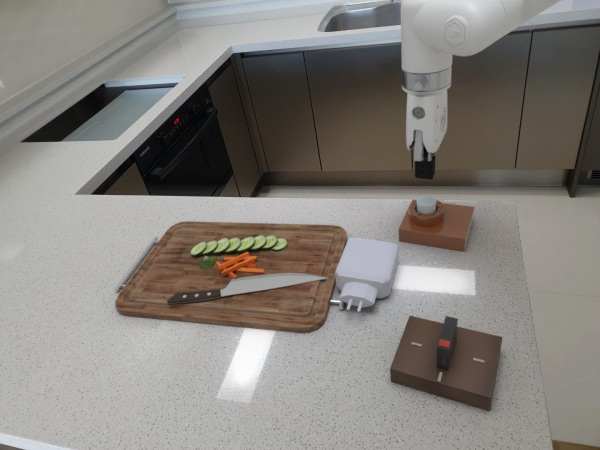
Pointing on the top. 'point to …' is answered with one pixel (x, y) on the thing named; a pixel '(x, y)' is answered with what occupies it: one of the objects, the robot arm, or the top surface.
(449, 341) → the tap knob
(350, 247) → the charger
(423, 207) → the round grey push button
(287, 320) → the chopping board
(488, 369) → the brown flat block
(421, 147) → the robot arm
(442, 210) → the brown base with collar
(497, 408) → the top surface
